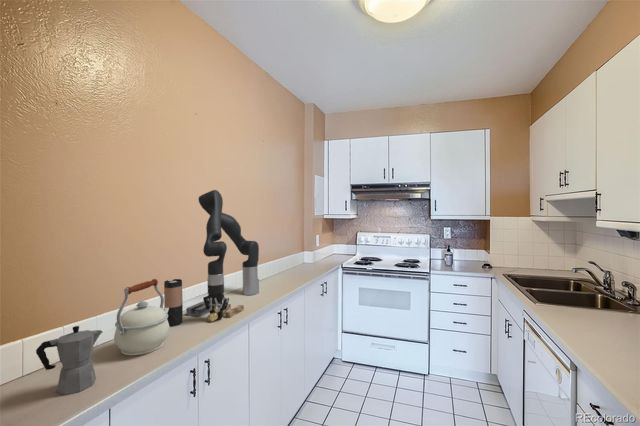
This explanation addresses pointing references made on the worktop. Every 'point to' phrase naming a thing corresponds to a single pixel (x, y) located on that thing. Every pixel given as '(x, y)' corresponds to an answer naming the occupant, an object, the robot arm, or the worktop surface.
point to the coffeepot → (72, 359)
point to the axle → (214, 316)
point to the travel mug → (173, 301)
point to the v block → (197, 309)
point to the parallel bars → (232, 310)
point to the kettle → (141, 324)
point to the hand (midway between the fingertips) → (216, 318)
